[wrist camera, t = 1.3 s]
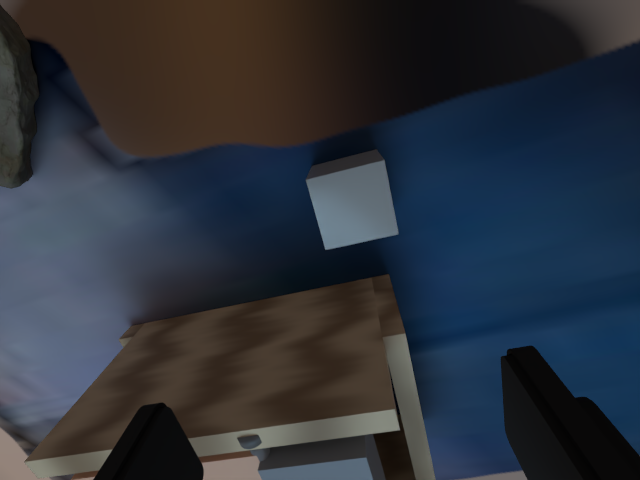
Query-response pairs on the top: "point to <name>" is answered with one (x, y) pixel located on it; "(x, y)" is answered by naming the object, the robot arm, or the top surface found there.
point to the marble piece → (15, 103)
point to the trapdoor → (294, 462)
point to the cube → (352, 199)
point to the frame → (259, 381)
